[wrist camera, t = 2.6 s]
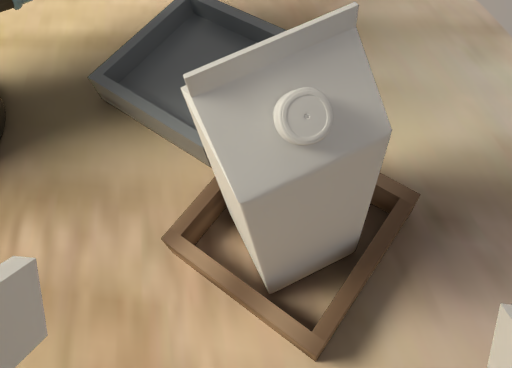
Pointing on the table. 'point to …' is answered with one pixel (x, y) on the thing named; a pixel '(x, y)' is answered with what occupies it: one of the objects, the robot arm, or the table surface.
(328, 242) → the milk carton
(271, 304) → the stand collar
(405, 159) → the table surface
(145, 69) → the tray
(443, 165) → the table surface
